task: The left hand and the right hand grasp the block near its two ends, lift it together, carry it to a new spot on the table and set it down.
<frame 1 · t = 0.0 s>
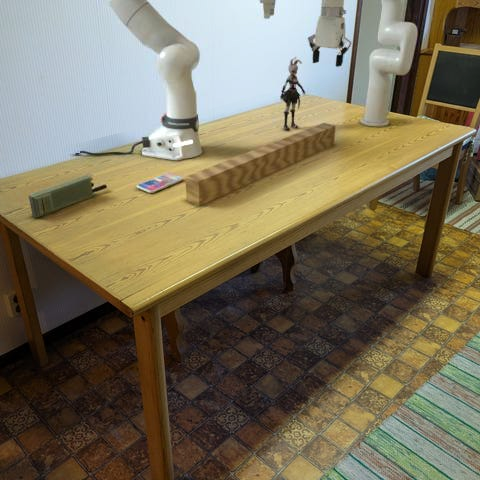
left hand: (268, 16, 163), 48 cm above the table, tool pointing down, fingers open, 8 cm apart
right hand: (327, 64, 183), 31 cm above the table, tool pointing down, fingers open, 9 cm apart
figurine: (289, 128, 219), on the table
block: (269, 169, 177), on the table
smartphone: (160, 184, 164), on the table
handheld radio: (72, 203, 151), on the table
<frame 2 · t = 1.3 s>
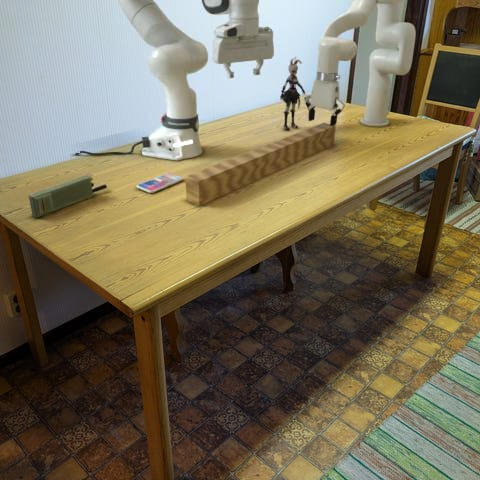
left hand: (243, 76, 157), 32 cm above the table, tool pointing down, fingers open, 8 cm apart
right hand: (321, 122, 193), 10 cm above the table, tool pointing down, fingers open, 9 cm apart
nothing on the table moved.
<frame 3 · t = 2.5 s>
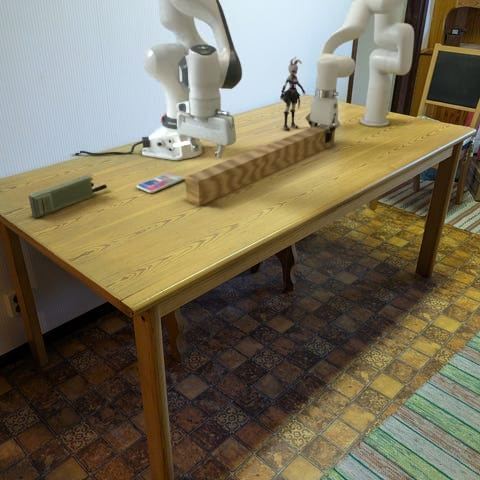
left hand: (206, 154, 149), 14 cm above the table, tool pointing down, fingers open, 8 cm apart
right hand: (321, 139, 197), 3 cm above the table, tool pointing down, fingers closed on block, 5 cm apart
block: (269, 169, 177), on the table, touching right hand
everything else where it was.
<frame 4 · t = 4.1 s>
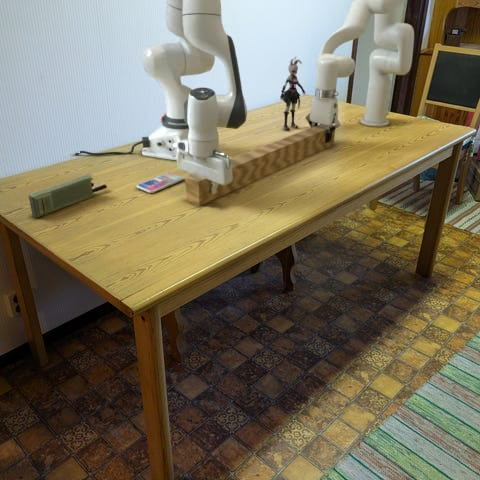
left hand: (204, 190, 154), 3 cm above the table, tool pointing down, fingers closed on block, 5 cm apart
right hand: (321, 139, 197), 3 cm above the table, tool pointing down, fingers closed on block, 5 cm apart
block: (269, 169, 177), on the table, touching left hand, right hand
everything else where it was.
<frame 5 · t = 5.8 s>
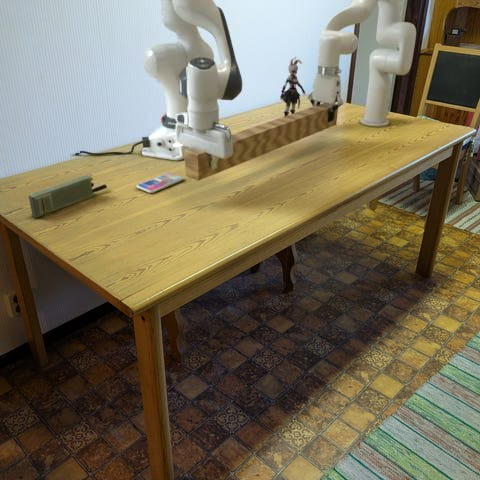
left hand: (204, 164, 151), 11 cm above the table, tool pointing down, fingers closed on block, 5 cm apart
right hand: (323, 119, 193), 11 cm above the table, tool pointing down, fingers closed on block, 5 cm apart
block: (271, 147, 173), point 8 cm above the table, touching left hand, right hand
everything else where it was.
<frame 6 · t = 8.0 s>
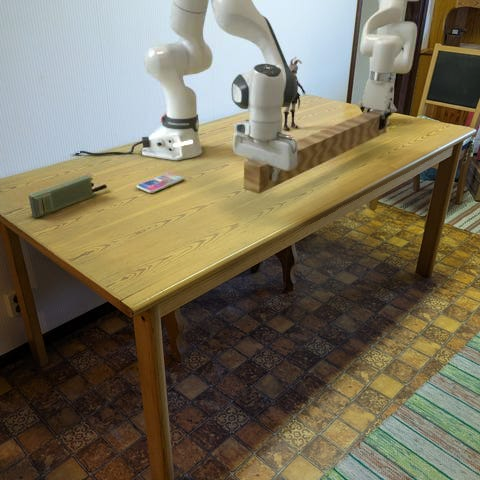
left hand: (263, 176, 142), 11 cm above the table, tool pointing down, fingers closed on block, 5 cm apart
right hand: (373, 126, 185), 11 cm above the table, tool pointing down, fingers closed on block, 5 cm apart
block: (324, 156, 165), point 8 cm above the table, touching left hand, right hand
everything else where it was.
when the right hand's fingers open (4 cm above the table, at t = 9.6 s): block drops 1 cm, on the table.
when the left hand's fingers open (4 cm above the table, at t = 9.7 s): block stays where it is, on the table.
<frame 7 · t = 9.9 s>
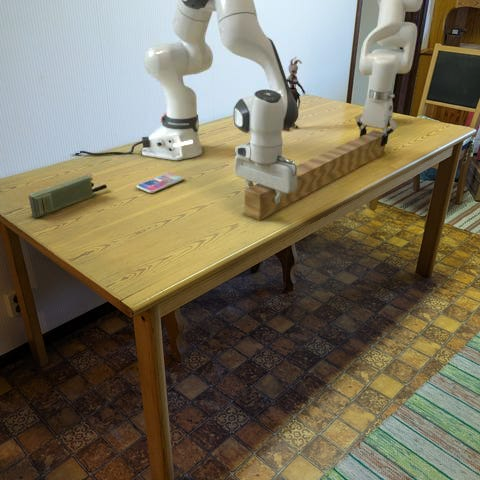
left hand: (264, 198, 145), 4 cm above the table, tool pointing down, fingers open, 7 cm apart
right hand: (372, 142, 188), 5 cm above the table, tool pointing down, fingers open, 8 cm apart
block: (323, 179, 169), on the table
everything else where it was.
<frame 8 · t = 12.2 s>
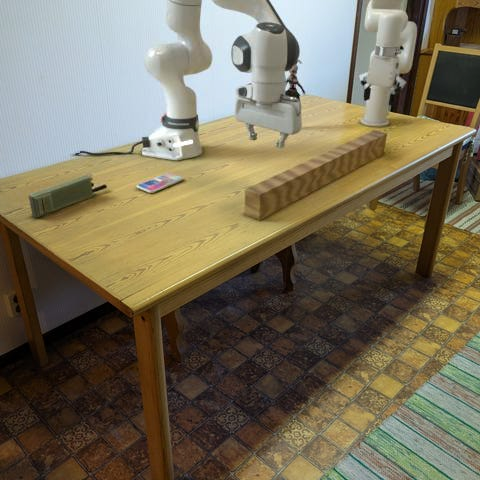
left hand: (266, 143, 137), 21 cm above the table, tool pointing down, fingers open, 8 cm apart
right hand: (378, 102, 181), 20 cm above the table, tool pointing down, fingers open, 9 cm apart
nothing on the table moved.
at the end: block inside the target area (0.4 cm from its centre), on the table; block tilted 0°; block never tilted more than 1° during the clip; both hands held the block at the same time; the left hand is holding nothing; the right hand is holding nothing; block at rest at the end (0.0 cm/s) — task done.
